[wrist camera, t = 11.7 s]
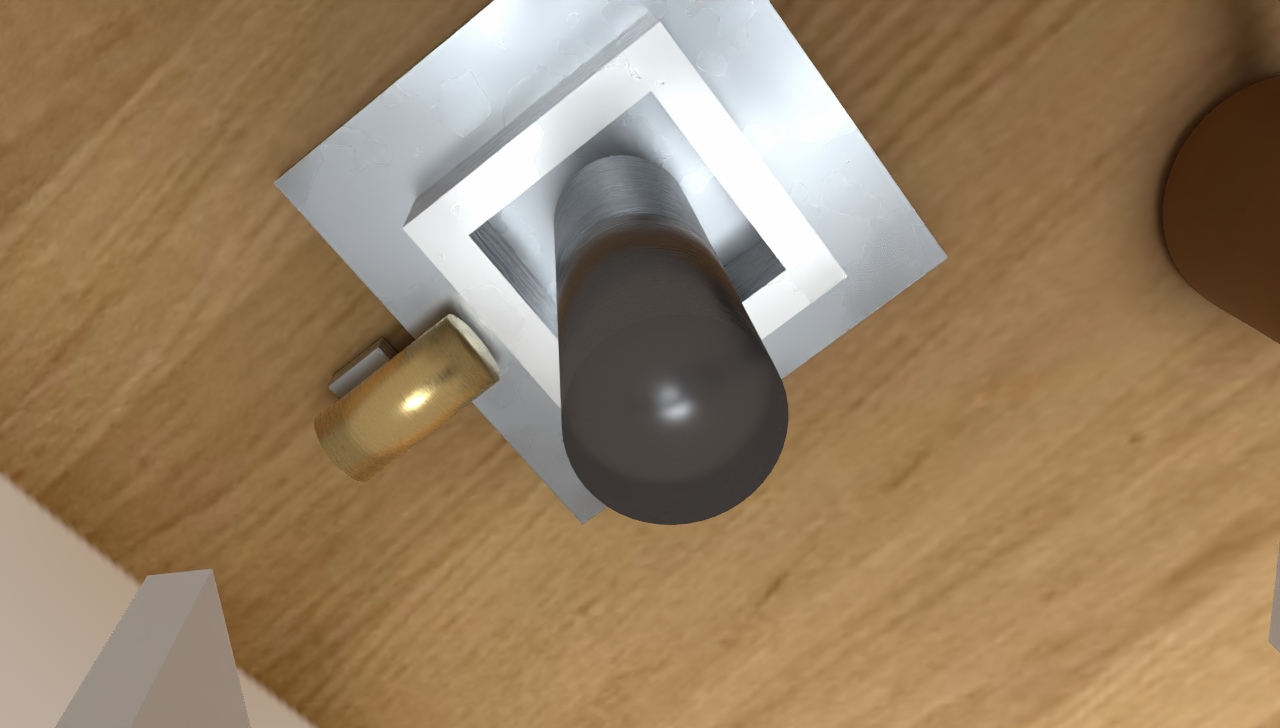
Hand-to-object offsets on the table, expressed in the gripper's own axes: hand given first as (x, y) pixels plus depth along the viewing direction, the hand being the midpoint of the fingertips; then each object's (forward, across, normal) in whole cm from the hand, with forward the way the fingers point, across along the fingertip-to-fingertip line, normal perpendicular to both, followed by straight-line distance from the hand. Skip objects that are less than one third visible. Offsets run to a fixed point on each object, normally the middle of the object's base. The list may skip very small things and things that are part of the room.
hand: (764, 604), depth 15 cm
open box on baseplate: (+23, -2, -1) cm, 23 cm away
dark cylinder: (+22, -1, 0) cm, 22 cm away
